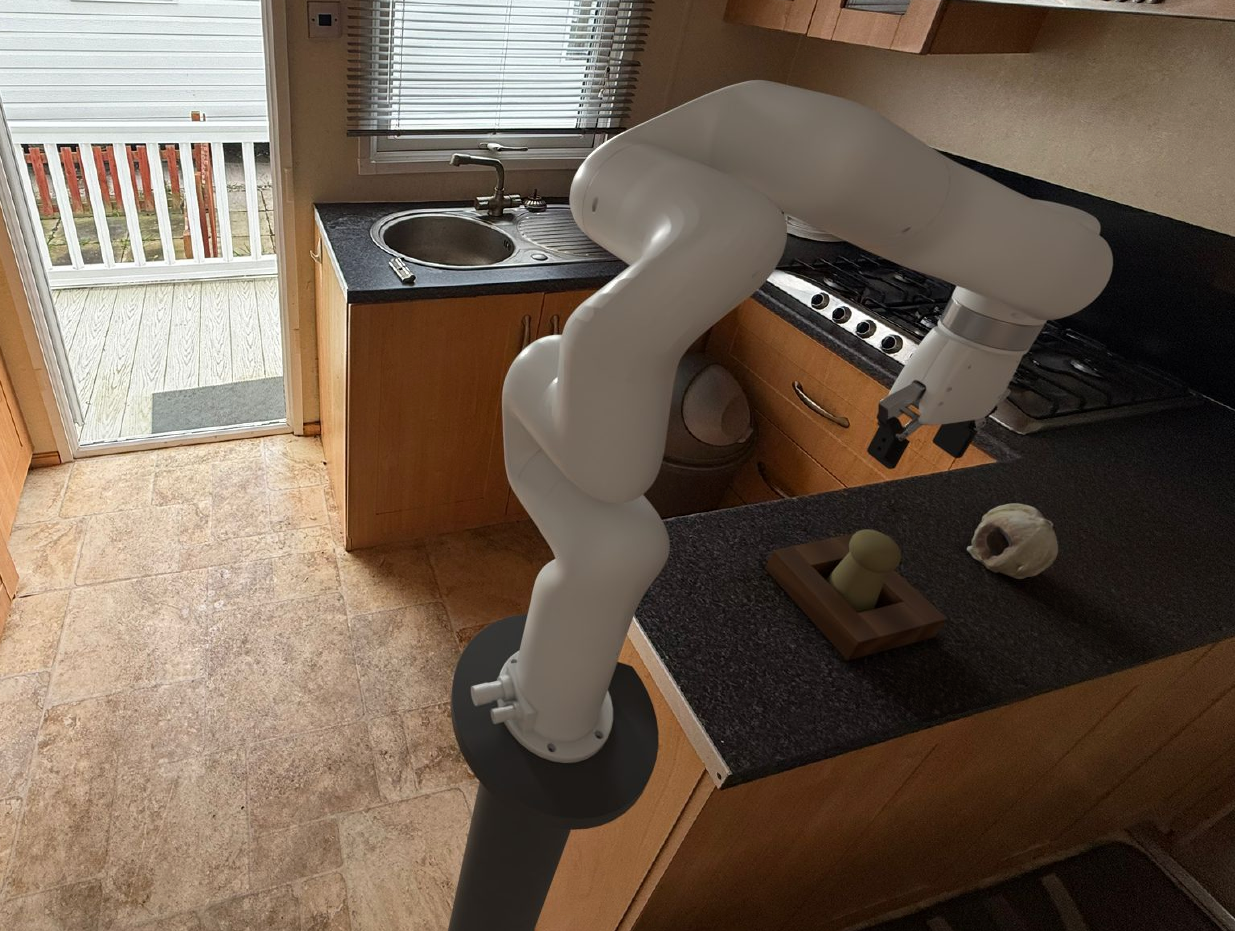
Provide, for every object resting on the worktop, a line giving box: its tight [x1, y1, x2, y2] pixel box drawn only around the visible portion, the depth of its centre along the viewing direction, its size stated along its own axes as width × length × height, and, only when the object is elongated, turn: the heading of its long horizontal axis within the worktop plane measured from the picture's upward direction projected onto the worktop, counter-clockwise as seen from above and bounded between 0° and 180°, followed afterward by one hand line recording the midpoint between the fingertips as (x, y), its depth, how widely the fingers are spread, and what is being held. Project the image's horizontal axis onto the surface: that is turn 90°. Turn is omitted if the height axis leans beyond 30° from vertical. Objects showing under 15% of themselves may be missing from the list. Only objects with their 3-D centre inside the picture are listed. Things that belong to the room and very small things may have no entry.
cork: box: [825, 528, 902, 613], centre depth 82 cm, size 6×6×11 cm
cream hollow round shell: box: [966, 503, 1059, 580], centre depth 90 cm, size 9×8×10 cm
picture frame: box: [764, 533, 948, 662], centre depth 84 cm, size 14×14×4 cm
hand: (913, 455), depth 75 cm, fingers open, 9 cm apart
